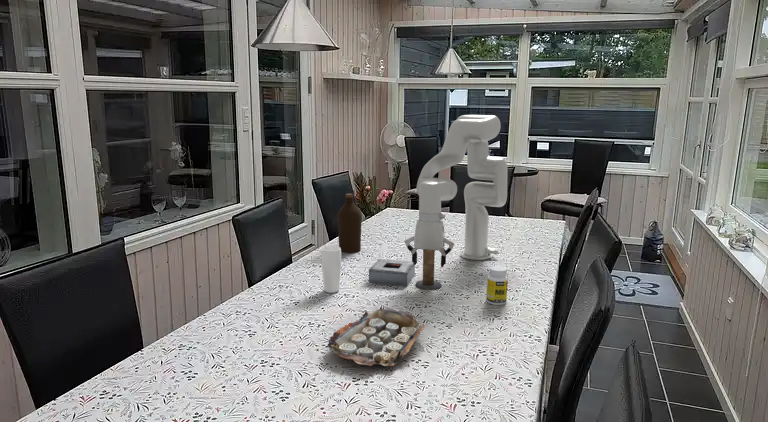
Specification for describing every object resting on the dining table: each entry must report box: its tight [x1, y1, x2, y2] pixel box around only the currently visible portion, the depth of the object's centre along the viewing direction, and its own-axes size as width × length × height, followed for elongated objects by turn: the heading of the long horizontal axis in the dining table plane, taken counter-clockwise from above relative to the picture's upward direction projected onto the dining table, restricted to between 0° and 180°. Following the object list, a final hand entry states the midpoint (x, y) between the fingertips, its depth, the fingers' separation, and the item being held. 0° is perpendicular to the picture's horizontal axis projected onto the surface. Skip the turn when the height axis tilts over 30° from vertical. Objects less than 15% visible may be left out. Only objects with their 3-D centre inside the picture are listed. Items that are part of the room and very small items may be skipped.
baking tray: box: [326, 307, 426, 368], centre depth 138 cm, size 30×22×5 cm
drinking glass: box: [320, 245, 342, 294], centre depth 179 cm, size 7×7×15 cm
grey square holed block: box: [368, 258, 416, 287], centre depth 193 cm, size 14×14×5 cm
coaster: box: [415, 279, 442, 291], centre depth 186 cm, size 9×9×1 cm
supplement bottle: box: [485, 265, 509, 306], centre depth 170 cm, size 6×6×11 cm
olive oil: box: [336, 193, 363, 254], centre depth 229 cm, size 11×11×25 cm
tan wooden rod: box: [422, 249, 436, 286], centre depth 185 cm, size 4×4×16 cm
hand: (428, 265), depth 185 cm, fingers open, 9 cm apart
